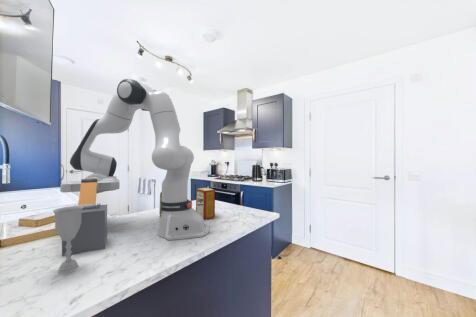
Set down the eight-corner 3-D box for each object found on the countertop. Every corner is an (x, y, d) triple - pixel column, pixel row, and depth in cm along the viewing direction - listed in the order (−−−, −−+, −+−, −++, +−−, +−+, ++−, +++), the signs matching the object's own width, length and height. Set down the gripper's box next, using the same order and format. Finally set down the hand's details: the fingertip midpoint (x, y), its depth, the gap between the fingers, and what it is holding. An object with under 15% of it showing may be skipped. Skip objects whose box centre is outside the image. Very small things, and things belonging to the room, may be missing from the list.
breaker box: (69, 244, 76) (69, 204, 76) (107, 238, 82) (107, 201, 82) (61, 256, 67) (62, 210, 67) (104, 248, 73) (104, 206, 73)
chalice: (65, 263, 63) (66, 206, 63) (88, 262, 64) (89, 205, 63) (45, 277, 56) (45, 212, 56) (71, 276, 56) (71, 212, 56)
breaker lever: (78, 210, 74) (81, 180, 79) (95, 208, 76) (97, 180, 82) (77, 208, 72) (81, 178, 78) (94, 206, 75) (97, 177, 80)
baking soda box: (195, 216, 115) (196, 188, 114) (205, 214, 119) (206, 187, 119) (204, 220, 107) (204, 190, 107) (214, 217, 111) (215, 189, 111)
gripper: (65, 177, 86) (54, 181, 74) (120, 176, 96) (118, 179, 84) (65, 192, 86) (54, 198, 74) (120, 189, 96) (118, 194, 84)
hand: (89, 188), depth 79 cm, fingers closed, pressing on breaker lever
